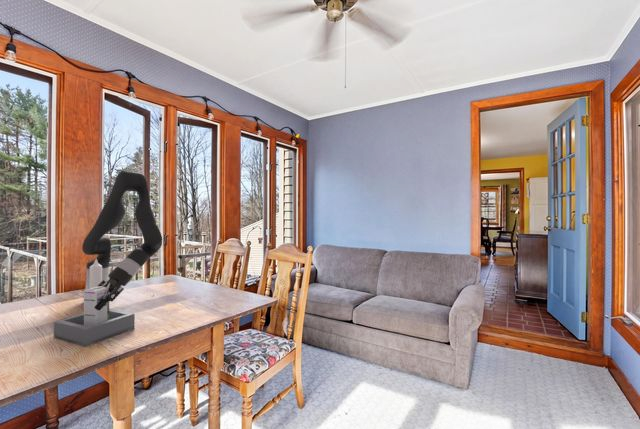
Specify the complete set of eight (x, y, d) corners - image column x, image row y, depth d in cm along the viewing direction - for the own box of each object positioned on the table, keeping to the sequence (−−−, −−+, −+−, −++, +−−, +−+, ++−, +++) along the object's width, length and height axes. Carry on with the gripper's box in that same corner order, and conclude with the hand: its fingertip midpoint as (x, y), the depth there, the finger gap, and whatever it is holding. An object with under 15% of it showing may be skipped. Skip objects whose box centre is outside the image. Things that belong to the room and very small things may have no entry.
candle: (108, 313, 139) (109, 258, 138) (92, 318, 132) (93, 260, 132) (97, 311, 141) (98, 257, 141) (81, 315, 134) (82, 259, 134)
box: (53, 337, 112) (54, 321, 112) (104, 321, 128) (104, 307, 128) (85, 346, 105) (86, 329, 105) (134, 328, 122) (134, 313, 122)
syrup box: (96, 329, 113) (96, 290, 113) (83, 327, 115) (83, 289, 114) (109, 323, 119) (109, 286, 119) (97, 322, 120) (97, 285, 120)
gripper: (109, 264, 127) (75, 299, 117) (127, 268, 119) (92, 305, 109) (122, 274, 131) (91, 309, 121) (141, 279, 124) (108, 316, 114)
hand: (91, 307), depth 115 cm, fingers closed on syrup box, 7 cm apart
